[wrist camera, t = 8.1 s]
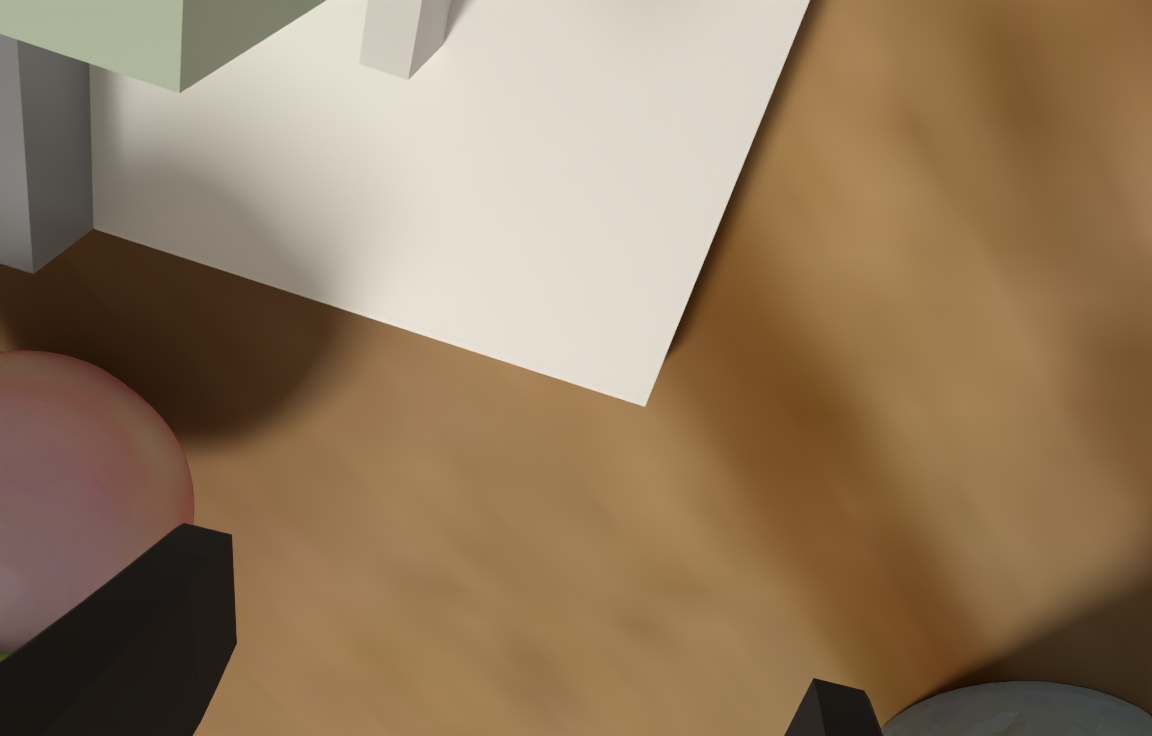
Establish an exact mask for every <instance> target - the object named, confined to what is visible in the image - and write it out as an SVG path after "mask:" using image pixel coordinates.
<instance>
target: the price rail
mask: <svg viewBox="0 0 1152 736" xmlns="http://www.w3.org/2000/svg"><path fill="white" fill-rule="evenodd" d="M92 229H93V194H92V154H91V114H90V75H89V63H87V62H84V61H81V60H78V59H75V58H72V57H69V56H66V55H63V54H60V53H57V52H54V51H51V50H47V49H44V48H41V47H38V46H35V45H32V44H29V43H26V42H23V41H20V40H17V39H14V38H11V37H8V36H5V35H2V34H0V264H3V265H6V266H9V267H13V268H16V269H19V270H22V271H25V272H28V273H31V274H34V273H35V272H37V271H38V270H39V269H41V268H42V267H43V266H45V265H46V264H47V263H49V262H50V261H51V260H53V259H54V258H55V257H57V256H58V255H59V254H61V253H62V252H63V251H65V250H66V249H67V248H69V247H70V246H71V245H73V244H74V243H75V242H76V241H78V240H79V239H80V238H82V237H83V236H84V235H86V234H87V233H88V232H90V231H91V230H92Z"/></svg>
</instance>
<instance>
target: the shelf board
mask: <svg viewBox="0 0 1152 736" xmlns="http://www.w3.org/2000/svg"><path fill="white" fill-rule="evenodd" d="M809 1H810V0H326V1H325V2H323V3H321V4H320V5H318V6H317V7H315V8H313V9H312V10H310V11H309V12H307V13H306V14H304V15H302V16H301V17H299V18H298V19H296V20H295V21H293V22H291V23H290V24H288V25H287V26H285V27H284V28H282V29H280V30H279V31H277V32H276V33H274V34H272V35H271V36H269V37H268V38H266V39H265V40H263V41H261V42H260V43H258V44H257V45H255V46H254V47H252V48H250V49H249V50H247V51H246V52H244V53H242V54H241V55H239V56H238V57H236V58H235V59H233V60H231V61H230V62H228V63H227V64H225V65H224V66H222V67H220V68H219V69H217V70H216V71H214V72H212V73H211V74H209V75H208V76H206V77H205V78H203V79H201V80H200V81H198V82H197V83H195V84H194V85H192V86H190V87H189V88H187V89H186V90H184V91H182V92H181V93H177V92H174V91H171V90H168V89H165V88H162V87H159V86H156V85H153V84H150V83H147V82H144V81H141V80H138V79H135V78H132V77H129V76H126V75H123V74H120V73H117V72H114V71H111V70H108V69H105V68H102V67H99V66H96V65H93V64H90V63H89V75H90V114H91V154H92V194H93V229H96V230H99V231H102V232H105V233H108V234H111V235H114V236H117V237H120V238H124V239H127V240H130V241H133V242H136V243H139V244H142V245H145V246H148V247H151V248H155V249H158V250H161V251H164V252H167V253H170V254H173V255H176V256H179V257H182V258H186V259H189V260H192V261H195V262H198V263H201V264H204V265H207V266H210V267H213V268H216V269H220V270H223V271H226V272H229V273H232V274H235V275H238V276H241V277H244V278H247V279H251V280H254V281H257V282H260V283H263V284H266V285H269V286H272V287H275V288H278V289H282V290H285V291H288V292H291V293H294V294H297V295H300V296H303V297H306V298H309V299H313V300H316V301H319V302H322V303H325V304H328V305H331V306H334V307H337V308H340V309H343V310H347V311H350V312H353V313H356V314H359V315H362V316H365V317H368V318H371V319H374V320H378V321H381V322H384V323H387V324H390V325H393V326H396V327H399V328H402V329H405V330H409V331H412V332H415V333H418V334H421V335H424V336H427V337H430V338H433V339H436V340H440V341H443V342H446V343H449V344H452V345H455V346H458V347H461V348H464V349H467V350H471V351H474V352H477V353H480V354H483V355H486V356H489V357H492V358H495V359H498V360H501V361H505V362H508V363H511V364H514V365H517V366H520V367H523V368H526V369H529V370H532V371H536V372H539V373H542V374H545V375H548V376H551V377H554V378H557V379H560V380H563V381H567V382H570V383H573V384H576V385H579V386H582V387H585V388H588V389H591V390H594V391H598V392H601V393H604V394H607V395H610V396H613V397H616V398H619V399H622V400H625V401H628V402H632V403H635V404H638V405H641V406H644V407H645V405H646V403H647V400H648V398H649V395H650V393H651V390H652V388H653V385H654V383H655V380H656V378H657V376H658V373H659V371H660V368H661V366H662V363H663V361H664V358H665V356H666V353H667V351H668V348H669V346H670V343H671V341H672V339H673V336H674V334H675V331H676V329H677V326H678V324H679V321H680V319H681V316H682V314H683V311H684V309H685V307H686V304H687V302H688V299H689V297H690V294H691V292H692V289H693V287H694V284H695V282H696V279H697V277H698V275H699V272H700V270H701V267H702V265H703V262H704V260H705V257H706V255H707V252H708V250H709V247H710V245H711V242H712V240H713V238H714V235H715V233H716V230H717V228H718V225H719V223H720V220H721V218H722V215H723V213H724V210H725V208H726V206H727V203H728V201H729V198H730V196H731V193H732V191H733V188H734V186H735V183H736V181H737V178H738V176H739V174H740V171H741V169H742V166H743V164H744V161H745V159H746V156H747V154H748V151H749V149H750V146H751V144H752V141H753V139H754V137H755V134H756V132H757V129H758V127H759V124H760V122H761V119H762V117H763V114H764V112H765V109H766V107H767V105H768V102H769V100H770V97H771V95H772V92H773V90H774V87H775V85H776V82H777V80H778V77H779V75H780V72H781V70H782V68H783V65H784V63H785V60H786V58H787V55H788V53H789V50H790V48H791V45H792V43H793V40H794V38H795V36H796V33H797V31H798V28H799V26H800V23H801V21H802V18H803V16H804V13H805V11H806V8H807V6H808V4H809Z"/></svg>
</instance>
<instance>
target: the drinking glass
mask: <svg viewBox="0 0 1152 736" xmlns="http://www.w3.org/2000/svg"><path fill="white" fill-rule="evenodd" d="M881 731H882V734H883V736H1152V716H1151V715H1149V714H1148V713H1146V712H1145V711H1143V710H1142V709H1140V708H1139V707H1137V706H1134V705H1132V704H1130V703H1128V702H1126V701H1124V700H1121V699H1119V698H1116V697H1114V696H1111V695H1108V694H1105V693H1102V692H1099V691H1096V690H1093V689H1088V688H1083V687H1078V686H1073V685H1068V684H1061V683H1053V682H1040V681H1008V682H995V683H986V684H981V685H975V686H970V687H965V688H959V689H955V690H952V691H949V692H945V693H942V694H938V695H936V696H933V697H931V698H929V699H927V700H924V701H922V702H920V703H917V704H915V705H913V706H911V707H910V708H908V709H906V710H905V711H903V712H902V713H900V714H898V715H897V716H895V717H894V718H893V719H892V720H890V721H889V722H888V723H887V724H885V726H884V727H883V728H882V729H881Z"/></svg>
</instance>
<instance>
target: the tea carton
mask: <svg viewBox="0 0 1152 736" xmlns="http://www.w3.org/2000/svg"><path fill="white" fill-rule="evenodd" d="M325 1H326V0H0V34H2V35H5V36H8V37H11V38H14V39H17V40H20V41H23V42H26V43H29V44H32V45H35V46H38V47H41V48H44V49H47V50H51V51H54V52H57V53H60V54H63V55H66V56H69V57H72V58H75V59H78V60H81V61H84V62H87V63H90V64H93V65H96V66H99V67H102V68H105V69H108V70H111V71H114V72H117V73H120V74H123V75H126V76H129V77H132V78H135V79H138V80H141V81H144V82H147V83H150V84H153V85H156V86H159V87H162V88H165V89H168V90H171V91H174V92H177V93H181V92H182V91H184V90H186V89H187V88H189V87H190V86H192V85H194V84H195V83H197V82H198V81H200V80H201V79H203V78H205V77H206V76H208V75H209V74H211V73H212V72H214V71H216V70H217V69H219V68H220V67H222V66H224V65H225V64H227V63H228V62H230V61H231V60H233V59H235V58H236V57H238V56H239V55H241V54H242V53H244V52H246V51H247V50H249V49H250V48H252V47H254V46H255V45H257V44H258V43H260V42H261V41H263V40H265V39H266V38H268V37H269V36H271V35H272V34H274V33H276V32H277V31H279V30H280V29H282V28H284V27H285V26H287V25H288V24H290V23H291V22H293V21H295V20H296V19H298V18H299V17H301V16H302V15H304V14H306V13H307V12H309V11H310V10H312V9H313V8H315V7H317V6H318V5H320V4H321V3H323V2H325Z"/></svg>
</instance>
